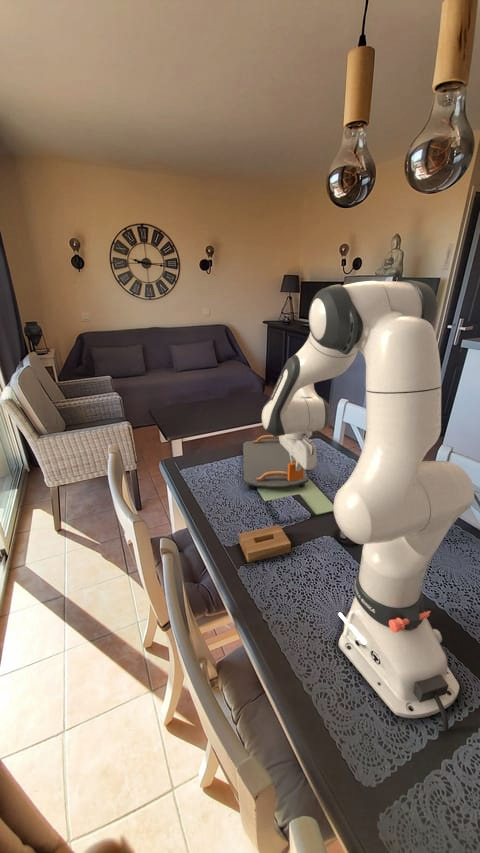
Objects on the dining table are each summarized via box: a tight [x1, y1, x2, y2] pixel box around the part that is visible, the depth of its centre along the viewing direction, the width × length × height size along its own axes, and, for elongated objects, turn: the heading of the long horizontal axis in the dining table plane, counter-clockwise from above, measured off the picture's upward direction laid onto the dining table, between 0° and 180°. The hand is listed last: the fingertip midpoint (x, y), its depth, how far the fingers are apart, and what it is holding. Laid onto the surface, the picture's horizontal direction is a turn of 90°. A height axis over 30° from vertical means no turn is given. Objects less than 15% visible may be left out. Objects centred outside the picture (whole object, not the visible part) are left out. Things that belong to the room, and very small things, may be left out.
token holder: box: [238, 524, 292, 563], centre depth 98 cm, size 8×12×4 cm, turn 107°
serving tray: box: [242, 434, 310, 490], centre depth 139 cm, size 39×23×6 cm, turn 0°
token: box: [288, 462, 304, 481], centre depth 116 cm, size 1×5×6 cm, turn 107°
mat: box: [256, 477, 334, 516], centre depth 120 cm, size 20×20×1 cm
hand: (296, 468), depth 116 cm, fingers closed on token, 1 cm apart
